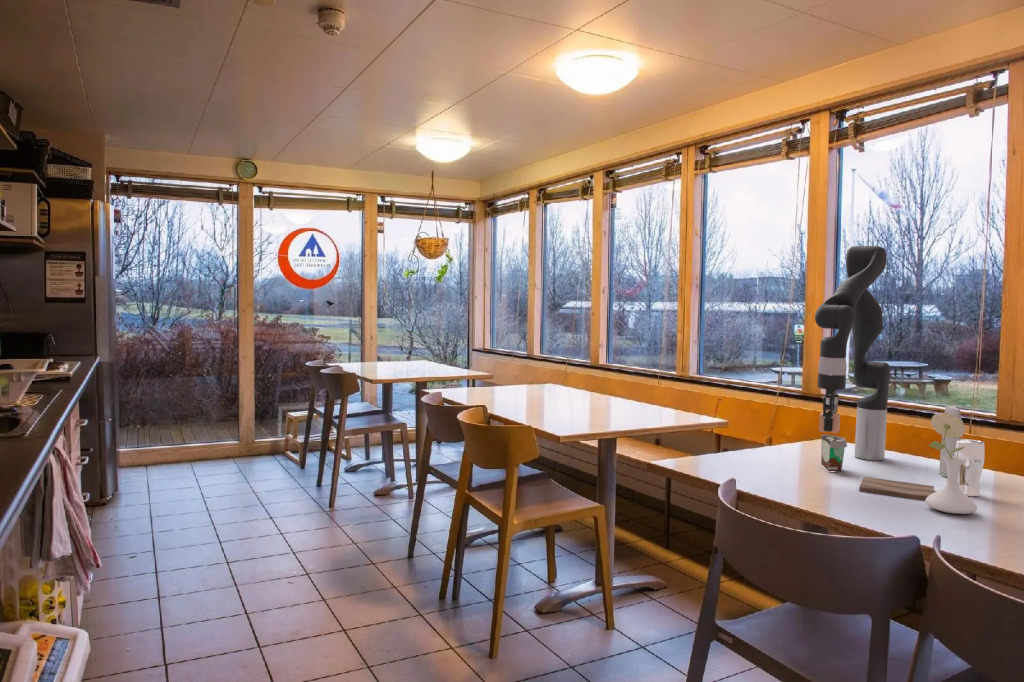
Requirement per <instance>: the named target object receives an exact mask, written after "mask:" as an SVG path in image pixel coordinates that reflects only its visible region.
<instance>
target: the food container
mask: <svg viewBox="0 0 1024 682" xmlns="http://www.w3.org/2000/svg"><path fill="white" fill-rule="evenodd" d="M820 440H821V450H820V451H821V455H820V457H821V458H820V460H821V461H820V466H821V465H823V466H824V467H825V468H826V469H827V470H828V471H840V472H842V471H843V470H842V469H843V464H844V463H843V462H844V455H845V448H847V447H848V444H847V440H846V438H844V437H842V436H838V435H833V434H832V435H831V434H824V433H823V434H821V439H820ZM827 470H826V471H827ZM841 470H842V471H841ZM828 471H827V472H828Z"/></svg>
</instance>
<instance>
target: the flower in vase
mask: <svg viewBox="0 0 1024 682" xmlns="http://www.w3.org/2000/svg"><path fill="white" fill-rule="evenodd" d="M929 423H930V425H931V426H932V429H934V431H935V432H936V433H938V435H941V436H942V435H944V438H943V444H944V445H943V444H942V442H939V441H938V440H935V441H932V442H931V443H930V444H928V447H930V448H933V449H936V450H938V451H941V450H942V449H943V448H944V447H945V449H946V450H947V452H948V454H949V455H950V456H942V458H943V459H944V461H945V463H946V465H947V478H946V479H947V480H946V483H945V485H944V486H943V487H942V488H940V489H939V490H936V491H934V493H933V494H931V495H929V496H928V497H927V498H926V500H924V502H925V504H926V505H927V506H928V507H930V508H932V509H934V510H935V511H936V510H937V511H940V512H943V513H948V514H955V515H957V514H958V515H968V514H973V513H976V512H977V511H978V506H977V504H976V503H975V502H974V501H973V500H972V498H971V497H968V496H967V495H965V494H964V493H963V492H962V491H961V490H960V489H959V487H958V472H959V468H960V466H961V464H962V463H963V462H964V461H965V459H964V458H961V457H955V456H951V454H950V453H951V452H957V451H960V450H962V449H963V448H964V447H965V446H964V447H960V448H956V449H954V450H952V451H951V452H949V451H948V449H947V447H946V445H945V437H949V438H954V437H955V438H958V437H960V438H962V437H964V434H965V432H966V431H967V429H966V426H965V425H964V421H963V420H962V421H960V418H956V417H954V415H953V414H950V415H949V414H948V413H943V412H940V413H935V414H934V415H932V418H931V419H930V422H929Z"/></svg>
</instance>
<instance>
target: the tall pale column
mask: <svg viewBox="0 0 1024 682" xmlns="http://www.w3.org/2000/svg"><path fill="white" fill-rule="evenodd" d="M944 413H948V414H949V415H950V414H953V415H954V417H956V418H960V421H963V419H962V416H961V415H962V414H961V409H960V408H957V407H956V406H954V405H949V406H947V405H946V406H945V409H944ZM941 436H942V437H941V443H942V444H943V438H944V435H941ZM957 439H961V437H958V438H955V437H954V438H949V437H945V445H946V447H947V449H948V451H949V452H951V451H952V450H954V449H955V448H956V441H957ZM943 445H944V444H943ZM950 454H951V456H955V452H951V453H950ZM939 455H940V457H939V458H940V459H939V469H938V470H939V471H938V472H939V473H938V474H939V475H940V476H941V477H943V478H946V477H947V465H946V463H945V461H944V459H943V458H942V456H950V455H949V454H948V452H947V450H946V449H945V447H944V448H943V449H942V450H940V453H939Z"/></svg>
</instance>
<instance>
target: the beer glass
mask: <svg viewBox="0 0 1024 682" xmlns="http://www.w3.org/2000/svg"><path fill="white" fill-rule="evenodd" d="M964 446H965V447H964ZM960 447H964V448H963V449H962V450H960V451H957V452H955V457H961V458H964V459H965V461H964V462H963V463H962V464H961V466H960V468H959V472H958V487H959V489H960V490H961V491H962V492H963V493H964V494H965V495H967V496H979V497H981V491H980V479H981V476H982V473H983V468H984V466H985V465H984V464H985V455H986V454H985V442H984V441H982V440H977V439H967V438H960V439H957V441H956V448H960ZM956 448H955V449H956Z"/></svg>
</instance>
